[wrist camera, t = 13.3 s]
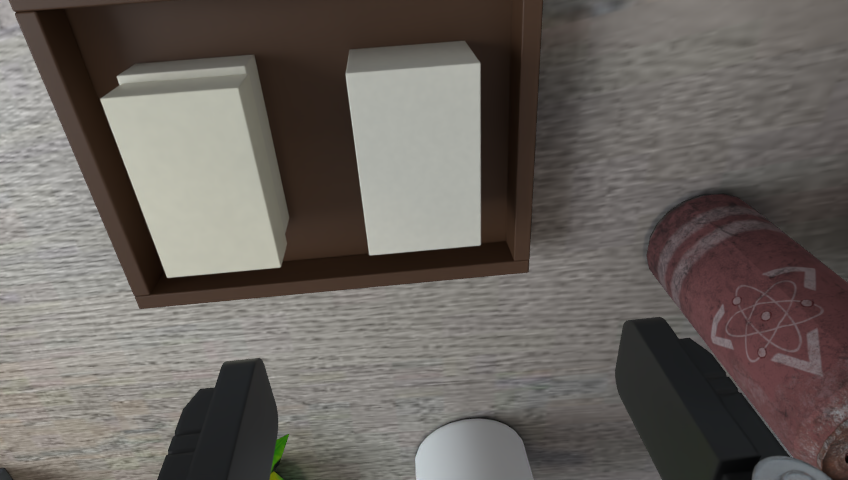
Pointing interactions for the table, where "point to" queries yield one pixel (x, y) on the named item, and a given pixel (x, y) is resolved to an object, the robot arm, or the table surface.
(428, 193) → the cream rectangular block
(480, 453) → the mug
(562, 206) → the table surface
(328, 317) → the table surface
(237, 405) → the robot arm
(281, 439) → the apple
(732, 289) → the can
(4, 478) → the pair of grey blocks
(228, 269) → the cream layered block
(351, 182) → the tray
